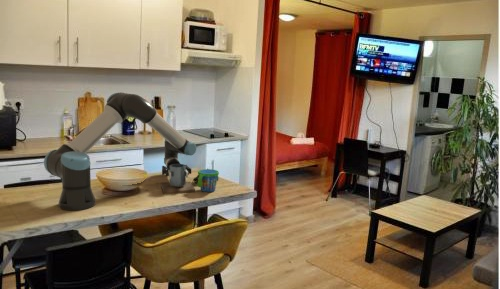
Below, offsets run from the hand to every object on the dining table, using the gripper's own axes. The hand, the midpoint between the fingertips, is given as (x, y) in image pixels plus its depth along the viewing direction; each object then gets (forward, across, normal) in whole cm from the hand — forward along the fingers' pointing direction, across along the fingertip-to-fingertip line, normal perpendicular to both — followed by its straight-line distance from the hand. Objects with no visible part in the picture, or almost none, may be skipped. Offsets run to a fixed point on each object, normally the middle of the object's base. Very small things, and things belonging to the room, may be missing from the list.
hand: (178, 175), depth 210 cm
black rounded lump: (-15, -15, -9) cm, 23 cm away
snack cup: (+1, -15, -9) cm, 17 cm away
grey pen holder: (-5, 0, -6) cm, 8 cm away
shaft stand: (-5, 0, -8) cm, 10 cm away
